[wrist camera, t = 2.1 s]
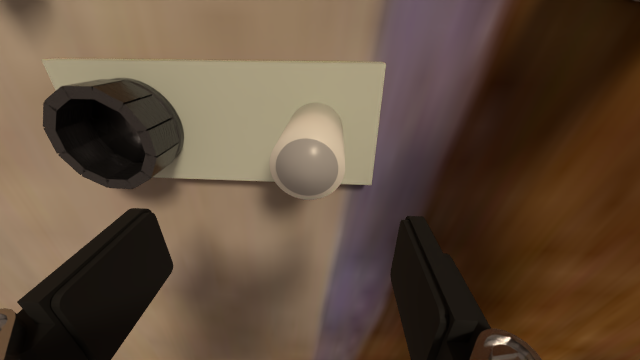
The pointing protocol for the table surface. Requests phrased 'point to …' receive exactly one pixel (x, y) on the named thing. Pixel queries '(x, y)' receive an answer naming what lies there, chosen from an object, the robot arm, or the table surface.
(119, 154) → the black faceted cup
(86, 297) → the robot arm
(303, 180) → the cylinder
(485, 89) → the table surface
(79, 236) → the table surface
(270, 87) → the board
